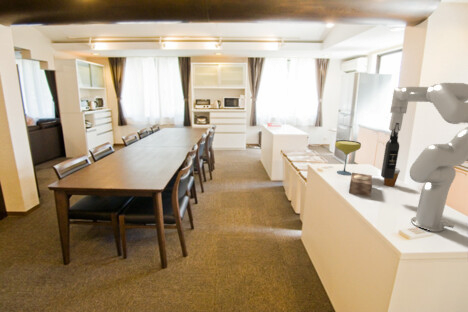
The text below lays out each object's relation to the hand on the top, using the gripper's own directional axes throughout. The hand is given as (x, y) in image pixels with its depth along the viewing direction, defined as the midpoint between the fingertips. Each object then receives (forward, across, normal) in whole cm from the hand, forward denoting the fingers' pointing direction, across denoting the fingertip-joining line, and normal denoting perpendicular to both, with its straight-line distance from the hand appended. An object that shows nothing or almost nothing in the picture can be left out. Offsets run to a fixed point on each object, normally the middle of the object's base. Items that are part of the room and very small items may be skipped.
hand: (393, 142), depth 143 cm
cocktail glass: (+34, -41, -25) cm, 59 cm away
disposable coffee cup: (+35, -28, +5) cm, 44 cm away
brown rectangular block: (+34, -8, -13) cm, 38 cm away
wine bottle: (+22, 0, 0) cm, 22 cm away
